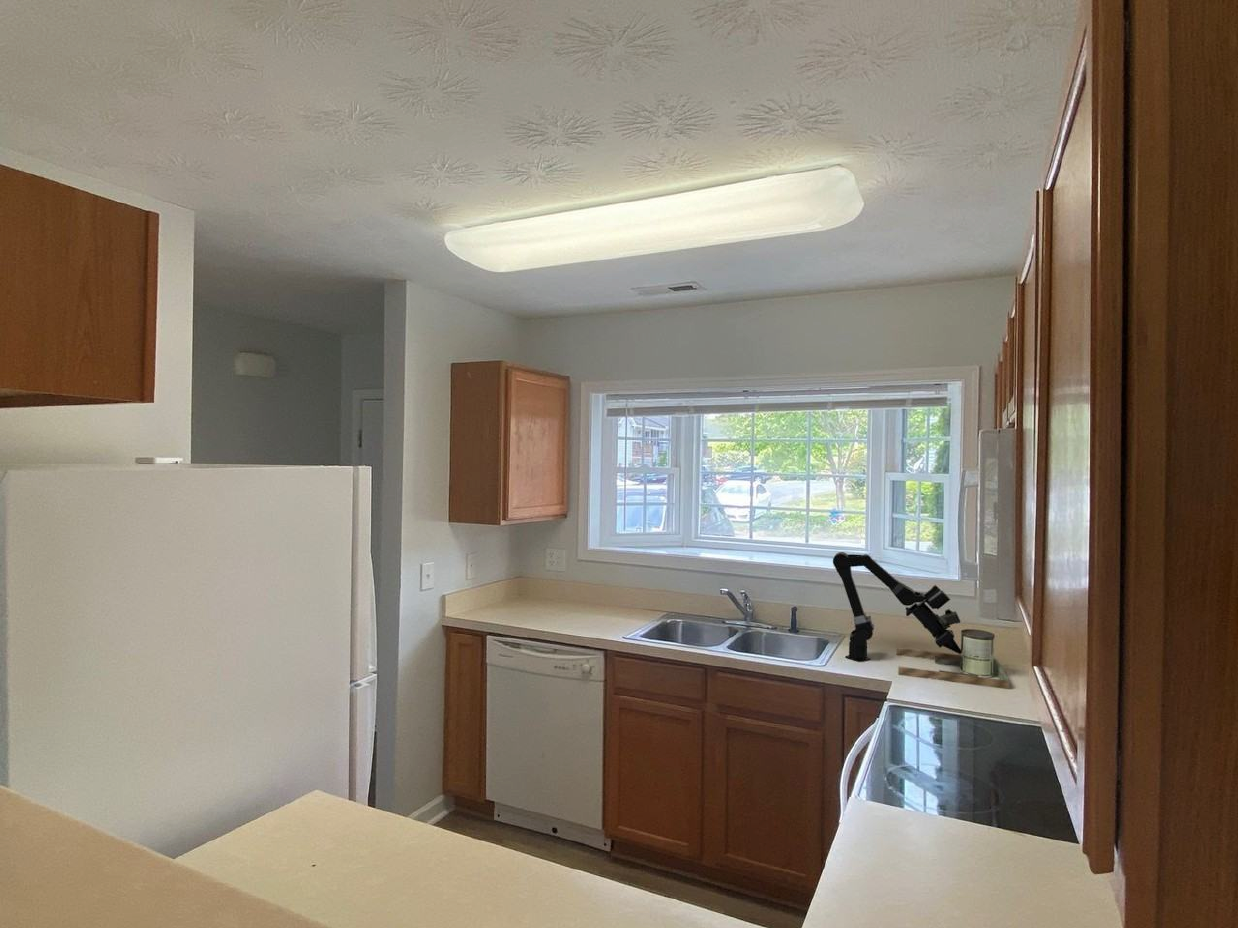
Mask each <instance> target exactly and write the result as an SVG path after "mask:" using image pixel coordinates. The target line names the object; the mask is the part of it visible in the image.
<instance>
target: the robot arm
mask: <svg viewBox="0 0 1238 928" xmlns="http://www.w3.org/2000/svg"><path fill="white" fill-rule="evenodd" d="M832 564H833V567H834V568H835V570H836V573H837V574H838V575H839V577H840V578H841V580H842V581H841V582H842V584H843V586H844V591H845V593H846V596H847V599H848V601H849V605H850V608H851V612H852V614H853V619H854V630H852V631H851V632H850V635H849V642H848V646H849V647H848V655H845V656H844V657H845V658H846V659H849V660H853V661H855V662H856V661H857V662H859V663H861V662H865V661H869V660H871V657H868V641H869V640H870V639H872V637H873V635H874V634H873V633H874V629H875V624H874V623H873V622H872V616H871V615H868V616H867V615H866V613H865V611H864V608H863V605H862V603H861V599H860V596H859V593H858V589H857V587H856V584H855V581H854V578H853V574H852V572H853V571H852V568H854V567H865V568H866V569H867V570H868V571H869V572H870V573H872V574H873V575H874V576H875V577H877V578H876V579H879V581H881V582H882V583H883V584H884V585H885V586H886V587H887V588H888V589H889V590H890V591H891V592H892V594H893V595H894V596H895V597H896V599H897V600H898V601H899V602H900V604H901V605H903V606H906V607H905V615H906V617H909V616H910V615H911V614H912V615H913V616H914V617H915V619H917V620H918V621H919V623H920V624H921V625H922V626H923V627H924V629H925V630H927V631H928V632H929V633H930V634H931V636H932V637H933V638H934V641H935V645H937V647H939V648H942V647H944V648H946V649H948V650H950V651H952V652H954V653H957V655H961V653H962V651H961V647H960V646H959V645H958V643H957V641H956V640H955V639H954V638H955V634H954V631H953V630H952V629H950V628H951V626H952V625H955V624H960V623H961V620H960V617H959V614H958V613H957V611H952V610H951V609H950V608H948V609H946V610H944V614H942V615H939V614H938V613H935V612H934V611H933V610H939V609H941V608H942V607H943V606H944V605H946V604H947V603H949V601H951V598H950V597H949V595H947V594H946V593H945V591H944V590H942V589H941V588H940V587H938V586H937V585H936V584H934V585H933V586H931V588H930V589H929V590H927V591H926V592H925V593H923V592H919V591H914V589H913V588H911V587H909V586H908V585H906V584H905V583H903V582H901V581H899V580H897V579H896V578H895V577H894V576H892V574H890V573H889V572H888V571H887V570H886V569H885V568H883V567H882V566H881V565H880V564H879V563H878V562H876V560H874V559H873V558H872V556H871V555H869V554H853V553H852V554H849V553H846V552H844V551H841V552H836V554H835V555H834V557H833V558H832Z"/></svg>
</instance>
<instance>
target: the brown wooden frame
mask: <svg viewBox="0 0 1238 928" xmlns="http://www.w3.org/2000/svg"><path fill="white" fill-rule="evenodd" d="M897 654H898V655H897ZM896 655H897V656H902V655H906V656H905V657H910V656H914V657H913V658H918V657H922V658H921V659H926V658H930V659H929V660H934V659H935V660H934V661H935V664H936V663H938V665H943V664H944V665H945V666H954V667H960V664H961V654H955V653H954V654H953V653H944V652H936V651H927V650H919V649H913V648H904V647H903V648H902V647H896ZM897 669H898V670H897V675H899V676H906V677H913V678H914V677H915V678H921V679H928V678H931V679H930V680H935V679H938V680H937V681H943V680H944V682H950V683H951V682H952V683H961V684H966V685H967V684H968V685H974V686H975V685H976V686H982V687H988V688H990V687H991V688H998V689H1005V690H1009V688H1010V687H1009V685H1010V681H1009V677H1008V676H1007V675H1006V674H1007V673H1005V671H1004V669H1003V668H1002V666H1001V665H1000V663H999V661H998V660H997V658H994V657H993V671H994V672H995V673H996V675H997V678H993V677H990V678H985V677H979V676H978V675H973V674H965V673H962V672H955V671H947V670H941V669H938V670H937V671H936V670H929V669H920V668H912V667H904V666H898V668H897Z"/></svg>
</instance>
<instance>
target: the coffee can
mask: <svg viewBox="0 0 1238 928" xmlns="http://www.w3.org/2000/svg"><path fill="white" fill-rule="evenodd" d="M960 632H961V633H960V634H961V636H960V638H961V639H960V640H961V641H960V649H961V651H962V653H961V654H960V655H961V664H960V668H959V673H965V674H973V675H978V676H979V677H985V678H993V677H994V668H993V658H994V657H995V656H994V655H995V654H994V651H995V636H996V634H994V633H992V632H990V631H987V630H986V631H985V630H981V629H973V628H972V629H970V628H969V629H968V628H967V629H961V630H960Z"/></svg>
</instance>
